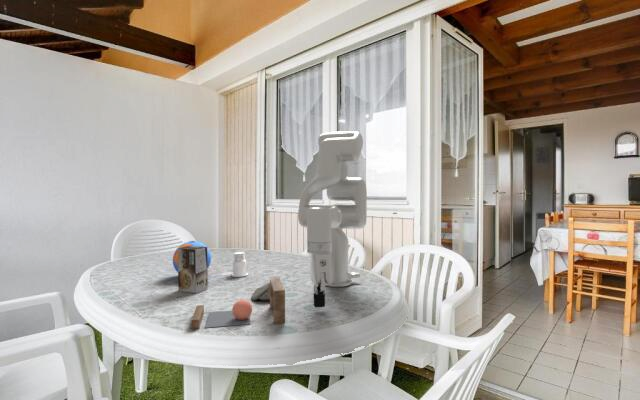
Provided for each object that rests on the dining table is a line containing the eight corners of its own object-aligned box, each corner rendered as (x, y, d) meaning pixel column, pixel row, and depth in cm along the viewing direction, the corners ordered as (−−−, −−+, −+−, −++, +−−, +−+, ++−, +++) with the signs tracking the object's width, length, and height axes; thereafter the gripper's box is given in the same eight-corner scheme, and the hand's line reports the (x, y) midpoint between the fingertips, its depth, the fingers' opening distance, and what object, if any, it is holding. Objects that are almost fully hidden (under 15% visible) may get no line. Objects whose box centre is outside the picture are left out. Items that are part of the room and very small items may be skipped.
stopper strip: (203, 313, 104) (203, 305, 104) (199, 328, 93) (199, 319, 93) (196, 313, 104) (196, 305, 104) (191, 329, 92) (191, 320, 92)
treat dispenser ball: (217, 273, 155) (217, 239, 154) (198, 282, 140) (197, 244, 139) (187, 271, 158) (186, 238, 158) (164, 280, 143) (164, 243, 143)
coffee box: (208, 289, 130) (208, 246, 130) (195, 293, 124) (195, 249, 124) (190, 286, 134) (190, 245, 134) (177, 290, 128) (176, 247, 128)
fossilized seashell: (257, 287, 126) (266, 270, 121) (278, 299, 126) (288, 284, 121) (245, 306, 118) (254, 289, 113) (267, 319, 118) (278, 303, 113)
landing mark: (249, 309, 107) (249, 309, 107) (250, 324, 96) (250, 323, 96) (209, 312, 105) (209, 312, 105) (205, 328, 93) (205, 327, 93)
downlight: (252, 274, 152) (251, 252, 152) (240, 278, 146) (239, 254, 146) (239, 273, 157) (238, 251, 157) (227, 276, 151) (226, 253, 151)
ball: (235, 295, 101) (228, 313, 101) (237, 301, 96) (230, 320, 96) (253, 299, 103) (246, 317, 103) (256, 305, 98) (249, 324, 97)
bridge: (279, 306, 111) (279, 277, 111) (285, 323, 97) (285, 290, 96) (269, 306, 110) (269, 278, 110) (274, 324, 96) (274, 290, 96)
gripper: (337, 250, 99) (337, 313, 100) (325, 243, 114) (325, 298, 114) (312, 251, 98) (312, 315, 98) (302, 243, 112) (302, 299, 113)
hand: (319, 306), depth 106 cm, fingers closed
